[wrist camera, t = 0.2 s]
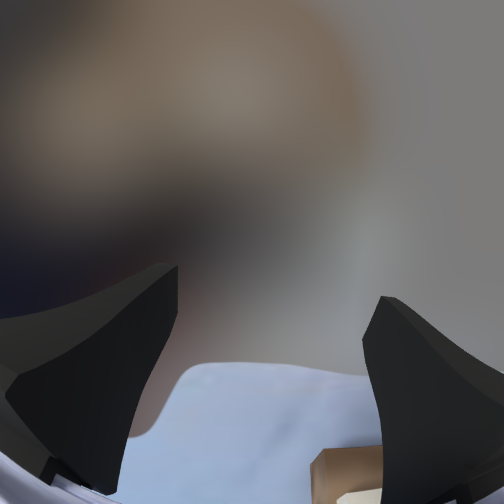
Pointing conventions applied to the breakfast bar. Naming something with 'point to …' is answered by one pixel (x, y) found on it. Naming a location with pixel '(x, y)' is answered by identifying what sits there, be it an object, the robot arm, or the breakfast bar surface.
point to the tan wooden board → (345, 472)
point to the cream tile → (361, 497)
